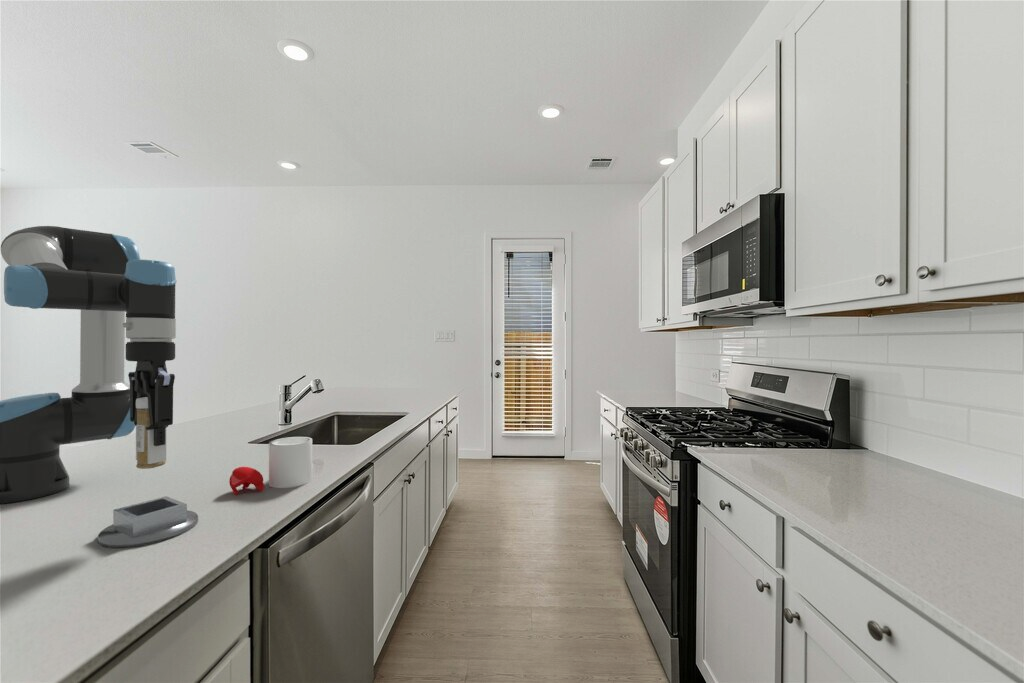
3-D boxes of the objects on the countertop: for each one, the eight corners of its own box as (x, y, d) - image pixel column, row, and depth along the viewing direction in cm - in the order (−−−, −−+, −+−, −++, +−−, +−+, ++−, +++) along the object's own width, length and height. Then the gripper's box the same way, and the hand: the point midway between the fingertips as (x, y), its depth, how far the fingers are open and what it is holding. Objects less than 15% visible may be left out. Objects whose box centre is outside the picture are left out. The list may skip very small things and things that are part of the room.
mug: (266, 476, 120) (267, 437, 120) (307, 470, 126) (308, 433, 126) (269, 490, 109) (270, 447, 109) (314, 483, 114) (315, 442, 114)
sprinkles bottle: (164, 467, 86) (164, 397, 86) (133, 470, 83) (133, 399, 83) (166, 461, 89) (167, 395, 89) (137, 465, 87) (137, 396, 87)
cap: (220, 484, 104) (243, 470, 104) (228, 468, 109) (250, 456, 110) (244, 505, 107) (266, 492, 108) (251, 489, 113) (271, 477, 113)
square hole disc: (84, 535, 84) (84, 512, 84) (176, 509, 97) (176, 489, 97) (118, 555, 76) (118, 529, 76) (212, 524, 89) (212, 502, 89)
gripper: (107, 340, 87) (107, 458, 87) (148, 340, 79) (148, 472, 79) (153, 340, 94) (153, 450, 94) (195, 340, 85) (195, 462, 85)
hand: (150, 460), depth 86 cm, fingers closed on sprinkles bottle, 4 cm apart
